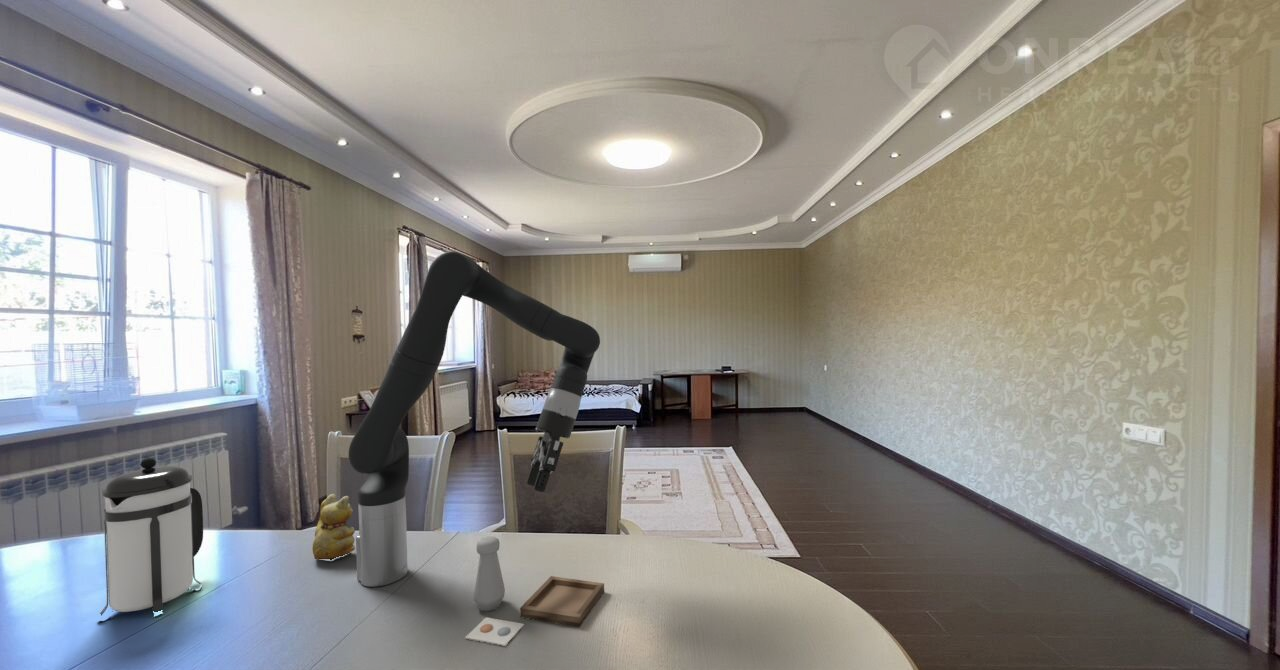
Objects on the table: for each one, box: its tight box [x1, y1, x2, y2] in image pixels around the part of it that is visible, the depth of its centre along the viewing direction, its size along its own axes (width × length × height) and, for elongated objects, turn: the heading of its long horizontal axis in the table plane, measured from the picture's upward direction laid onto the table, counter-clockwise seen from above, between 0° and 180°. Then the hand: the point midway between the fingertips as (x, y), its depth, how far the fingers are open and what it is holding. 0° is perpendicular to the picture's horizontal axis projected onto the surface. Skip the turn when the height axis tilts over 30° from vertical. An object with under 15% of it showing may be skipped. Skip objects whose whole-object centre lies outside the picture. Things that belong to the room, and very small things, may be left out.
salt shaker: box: [473, 535, 506, 612], centre depth 93 cm, size 6×6×13 cm
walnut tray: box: [519, 575, 605, 628], centre depth 93 cm, size 12×12×2 cm
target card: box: [464, 617, 525, 647], centre depth 85 cm, size 8×6×1 cm
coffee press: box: [99, 457, 204, 616], centre depth 99 cm, size 17×16×30 cm
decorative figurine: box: [312, 493, 356, 561], centre depth 116 cm, size 10×8×15 cm
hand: (534, 487), depth 100 cm, fingers open, 8 cm apart
